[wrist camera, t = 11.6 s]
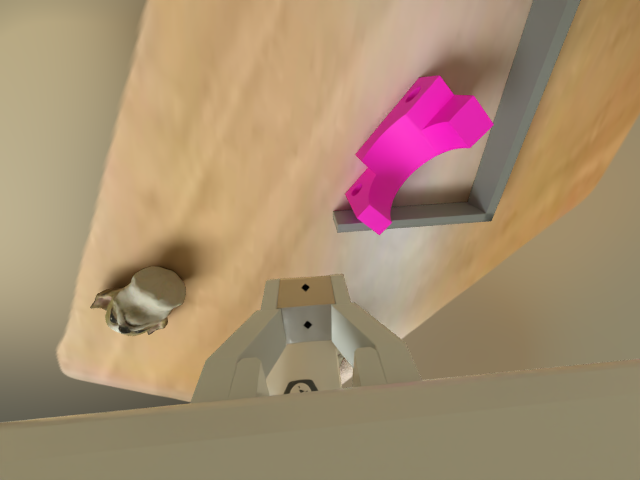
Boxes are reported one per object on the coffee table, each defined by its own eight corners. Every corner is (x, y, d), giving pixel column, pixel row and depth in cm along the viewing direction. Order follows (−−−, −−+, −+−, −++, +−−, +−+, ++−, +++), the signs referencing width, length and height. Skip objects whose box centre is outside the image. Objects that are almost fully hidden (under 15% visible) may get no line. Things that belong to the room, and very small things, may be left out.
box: (472, 208, 35) (491, 221, 32) (333, 218, 34) (337, 232, 31) (564, -58, 21) (615, -86, 18) (332, -58, 20) (340, -89, 17)
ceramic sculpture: (189, 328, 31) (131, 369, 36) (211, 282, 38) (161, 321, 43) (104, 285, 26) (51, 339, 31) (148, 241, 33) (100, 291, 38)
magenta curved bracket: (418, 77, 26) (458, 73, 20) (449, 117, 28) (494, 124, 22) (331, 182, 32) (340, 205, 25) (363, 208, 34) (379, 235, 28)
